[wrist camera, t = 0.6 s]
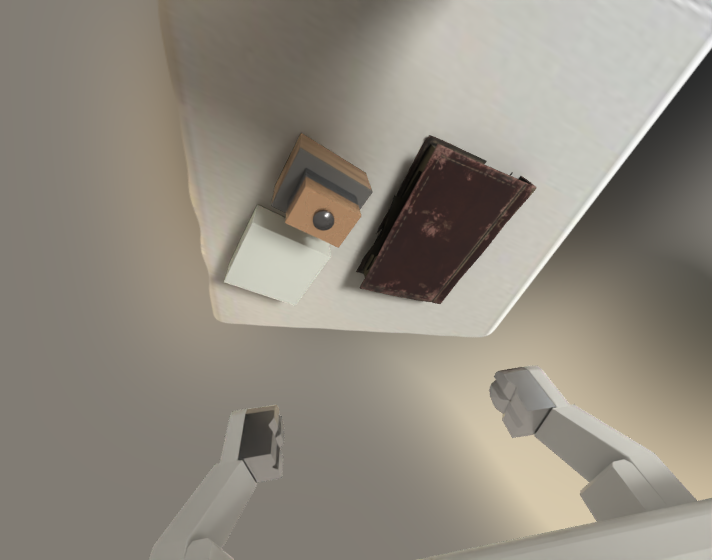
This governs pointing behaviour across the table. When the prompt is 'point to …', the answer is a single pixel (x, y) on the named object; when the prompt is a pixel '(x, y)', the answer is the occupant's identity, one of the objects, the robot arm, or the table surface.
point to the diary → (440, 223)
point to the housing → (322, 208)
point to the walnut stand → (319, 172)
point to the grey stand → (276, 258)
